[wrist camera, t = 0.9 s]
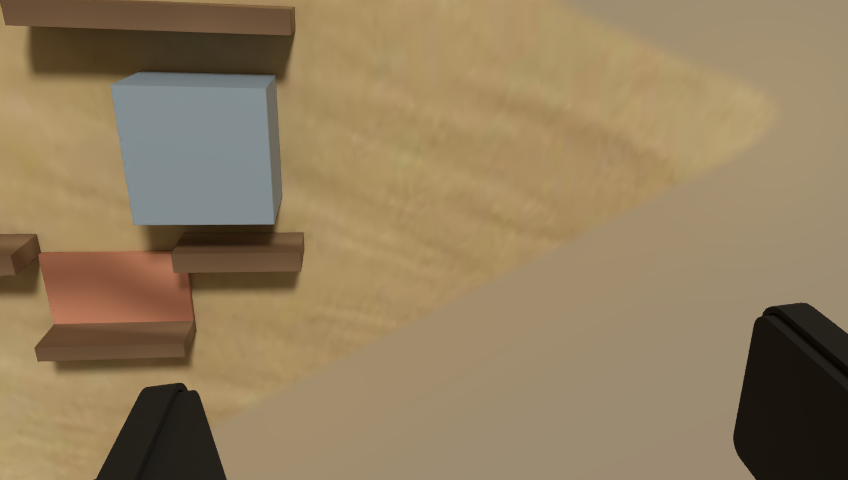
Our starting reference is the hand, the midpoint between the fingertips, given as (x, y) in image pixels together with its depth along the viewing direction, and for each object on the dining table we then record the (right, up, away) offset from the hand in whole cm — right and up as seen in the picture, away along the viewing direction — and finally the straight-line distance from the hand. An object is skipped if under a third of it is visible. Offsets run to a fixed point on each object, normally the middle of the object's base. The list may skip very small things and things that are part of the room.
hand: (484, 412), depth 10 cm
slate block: (-11, +8, +19) cm, 23 cm away
